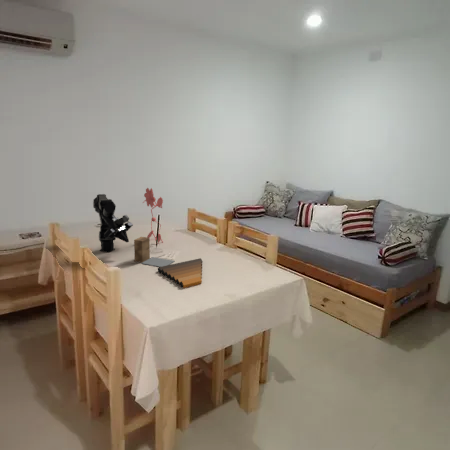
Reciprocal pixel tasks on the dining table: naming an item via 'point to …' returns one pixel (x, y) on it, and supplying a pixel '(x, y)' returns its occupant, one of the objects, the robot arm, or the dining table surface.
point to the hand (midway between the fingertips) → (128, 241)
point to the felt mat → (157, 262)
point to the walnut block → (142, 249)
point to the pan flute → (184, 272)
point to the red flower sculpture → (151, 200)
